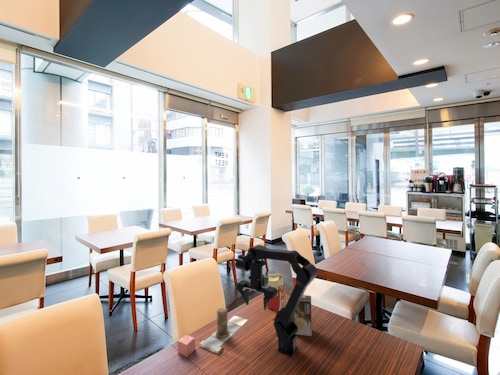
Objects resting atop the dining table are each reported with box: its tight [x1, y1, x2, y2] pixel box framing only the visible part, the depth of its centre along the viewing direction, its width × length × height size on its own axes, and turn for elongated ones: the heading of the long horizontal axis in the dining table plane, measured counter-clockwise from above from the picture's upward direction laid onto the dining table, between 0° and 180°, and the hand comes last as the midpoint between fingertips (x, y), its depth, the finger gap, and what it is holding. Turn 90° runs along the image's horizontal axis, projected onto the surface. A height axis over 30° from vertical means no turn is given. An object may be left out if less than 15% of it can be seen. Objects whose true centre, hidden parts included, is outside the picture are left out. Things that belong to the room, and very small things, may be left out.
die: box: [177, 334, 196, 358], centre depth 107 cm, size 5×5×5 cm
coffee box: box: [294, 294, 313, 337], centre depth 120 cm, size 9×6×16 cm
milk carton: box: [266, 273, 288, 312], centre depth 140 cm, size 9×9×20 cm
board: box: [198, 315, 248, 355], centre depth 118 cm, size 10×26×1 cm, turn 150°
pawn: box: [215, 307, 229, 340], centre depth 115 cm, size 6×6×11 cm
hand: (256, 307), depth 117 cm, fingers open, 9 cm apart
